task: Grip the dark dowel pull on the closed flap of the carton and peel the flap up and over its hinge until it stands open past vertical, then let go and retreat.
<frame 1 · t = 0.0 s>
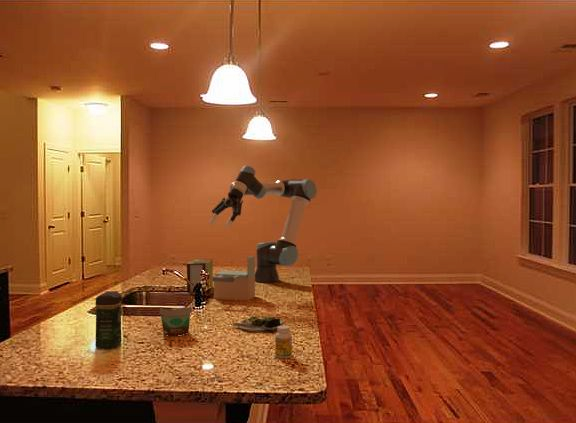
hand: (218, 225, 255), 36 cm above the counter, tool tilted 35°, fingers open, 13 cm apart
carton: (234, 297, 253), on the counter
supplement bottle: (283, 356, 163), on the counter
coffee jar: (109, 346, 173), on the counter
salad plate: (262, 328, 198), on the counter
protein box: (200, 290, 273), on the counter
food container: (177, 335, 187), on the counter
flap: (230, 275, 246), point 12 cm above the counter, hinge at 0.0°
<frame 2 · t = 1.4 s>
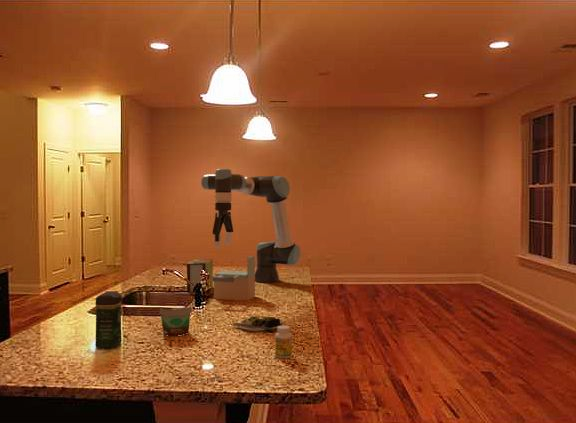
hand: (223, 247, 237), 27 cm above the counter, tool pointing down, fingers open, 13 cm apart
nothing on the counter moved.
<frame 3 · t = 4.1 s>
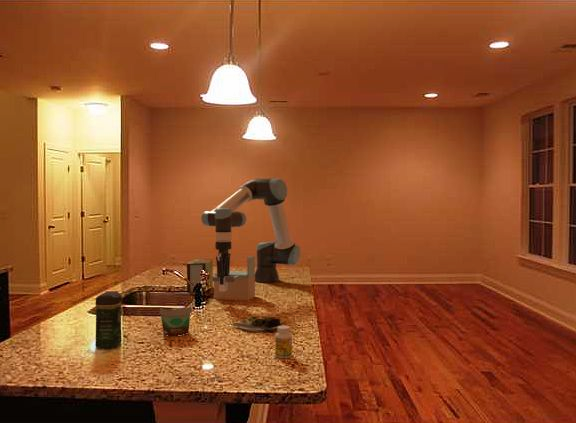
hand: (223, 290, 237), 6 cm above the counter, tool pointing down, fingers closed on flap, 2 cm apart
flap: (230, 276, 246), point 12 cm above the counter, hinge at 0.0°, touching gripper
everything else where it was.
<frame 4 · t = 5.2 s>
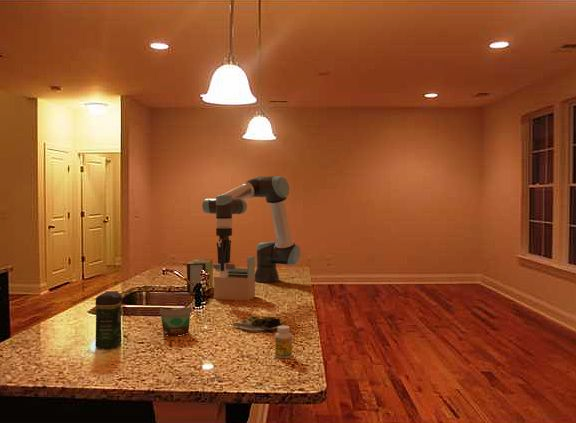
hand: (224, 276, 238), 13 cm above the counter, tool pointing down, fingers closed on flap, 2 cm apart
flap: (230, 269, 247), point 15 cm above the counter, hinge at 17.0°, touching gripper
everything else where it was.
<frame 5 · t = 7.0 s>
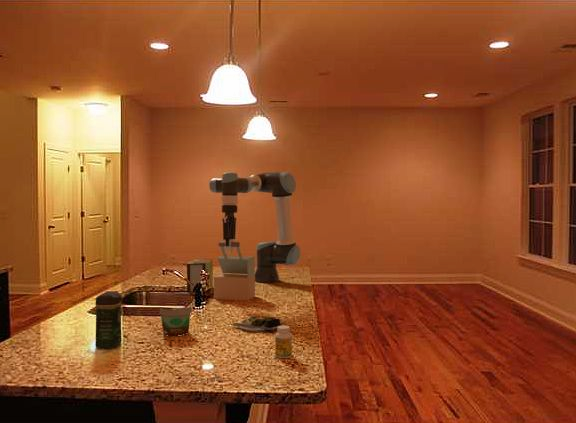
hand: (229, 252, 244), 23 cm above the counter, tool pointing down, fingers open, 3 cm apart
flap: (233, 257, 250), point 20 cm above the counter, hinge at 51.3°, touching gripper
everything else where it was.
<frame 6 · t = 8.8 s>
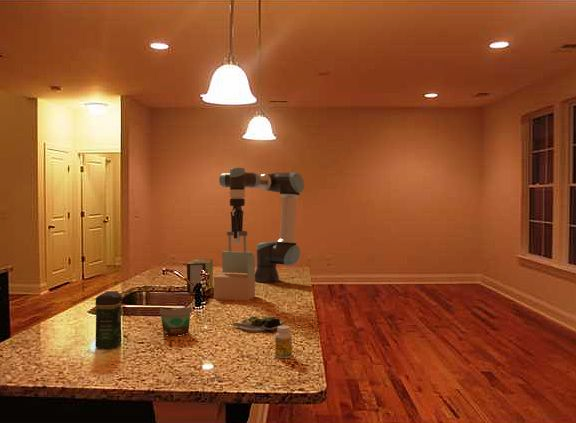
hand: (237, 244, 255), 26 cm above the counter, tool pointing down, fingers closed on flap, 2 cm apart
flap: (237, 251, 256), point 23 cm above the counter, hinge at 87.0°, touching gripper
everything else where it was.
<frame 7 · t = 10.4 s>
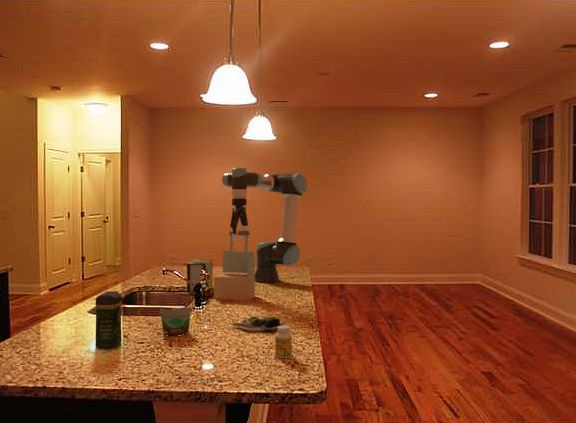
hand: (239, 239, 259), 29 cm above the counter, tool pointing down, fingers open, 13 cm apart
flap: (238, 251, 258), point 22 cm above the counter, hinge at 96.5°
everything else where it was.
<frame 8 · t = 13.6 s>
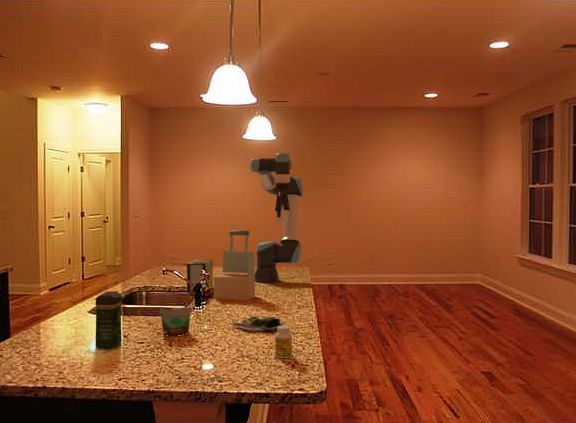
hand: (282, 223, 264), 37 cm above the counter, tool pointing down, fingers open, 13 cm apart
nothing on the counter moved.
at the end: flap at +96° (first picture: +0°); the gripper is holding nothing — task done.
